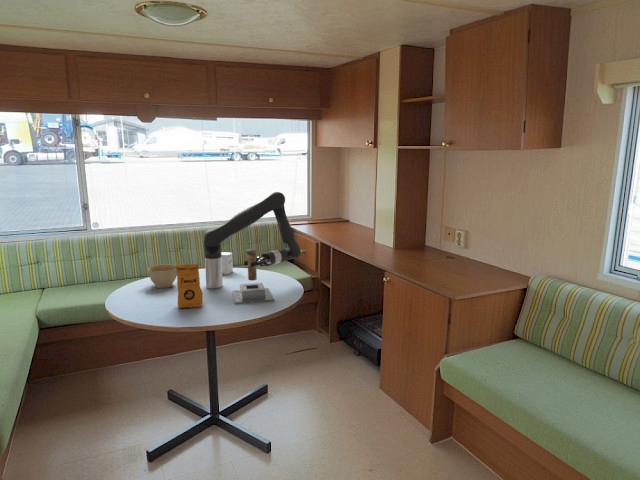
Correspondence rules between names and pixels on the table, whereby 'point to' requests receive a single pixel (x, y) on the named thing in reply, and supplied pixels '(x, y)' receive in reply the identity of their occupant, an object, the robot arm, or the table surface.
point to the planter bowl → (163, 275)
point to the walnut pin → (251, 258)
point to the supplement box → (227, 262)
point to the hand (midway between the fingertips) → (248, 264)
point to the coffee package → (188, 286)
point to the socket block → (252, 294)
